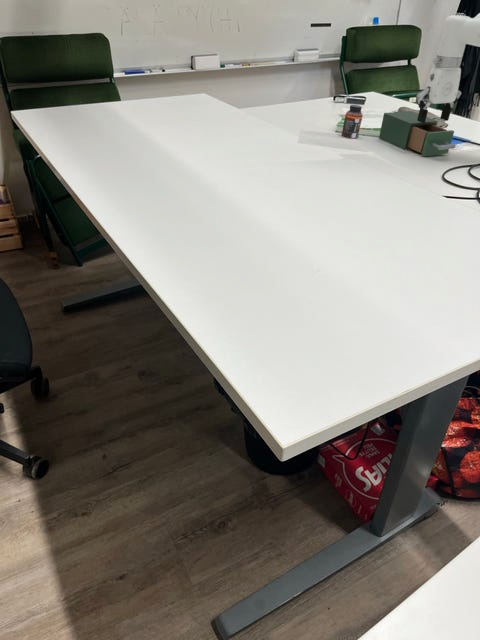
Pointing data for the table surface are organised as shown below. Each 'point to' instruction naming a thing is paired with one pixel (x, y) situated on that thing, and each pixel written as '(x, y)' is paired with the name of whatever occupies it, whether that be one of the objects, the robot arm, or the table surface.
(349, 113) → the supplement bottle
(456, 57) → the robot arm
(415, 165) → the table surface
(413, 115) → the cabinet
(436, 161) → the table surface
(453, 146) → the drawer
